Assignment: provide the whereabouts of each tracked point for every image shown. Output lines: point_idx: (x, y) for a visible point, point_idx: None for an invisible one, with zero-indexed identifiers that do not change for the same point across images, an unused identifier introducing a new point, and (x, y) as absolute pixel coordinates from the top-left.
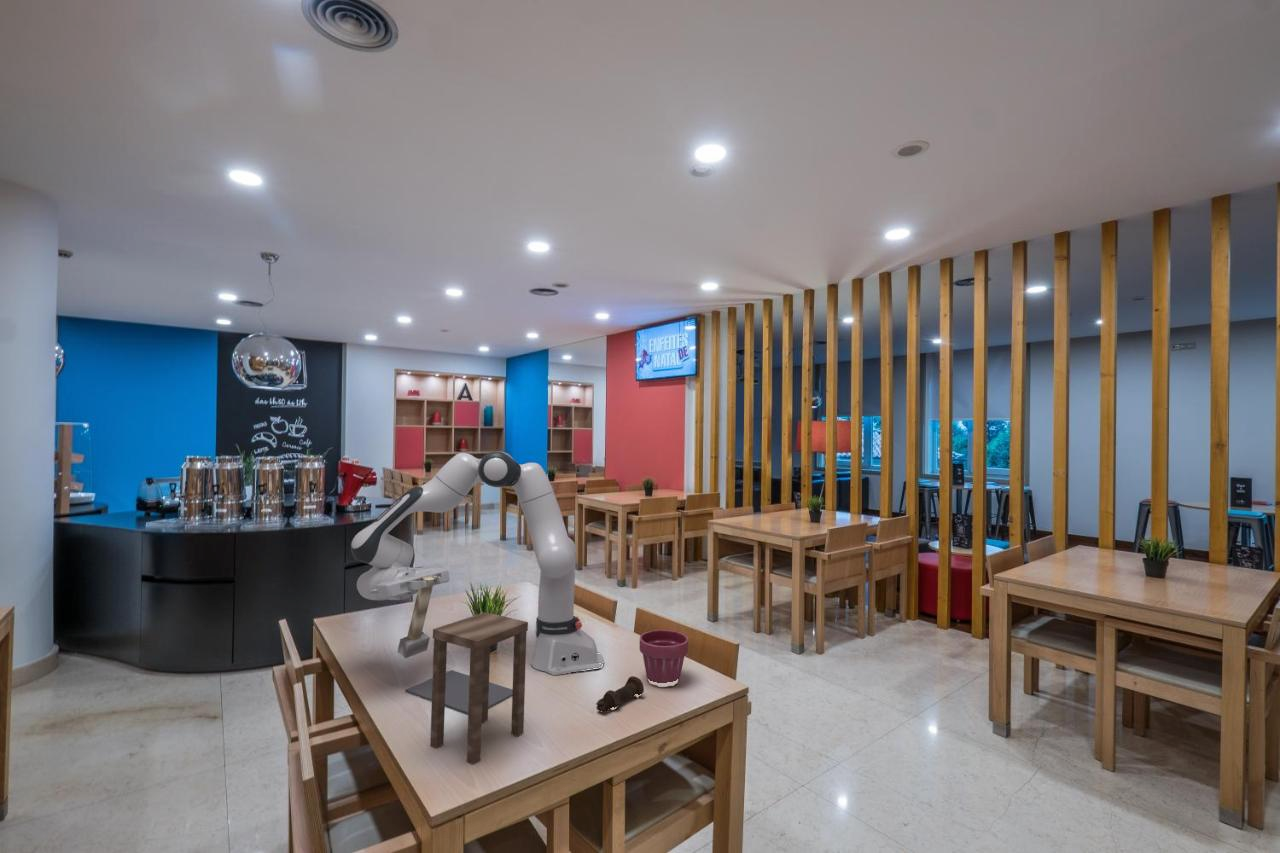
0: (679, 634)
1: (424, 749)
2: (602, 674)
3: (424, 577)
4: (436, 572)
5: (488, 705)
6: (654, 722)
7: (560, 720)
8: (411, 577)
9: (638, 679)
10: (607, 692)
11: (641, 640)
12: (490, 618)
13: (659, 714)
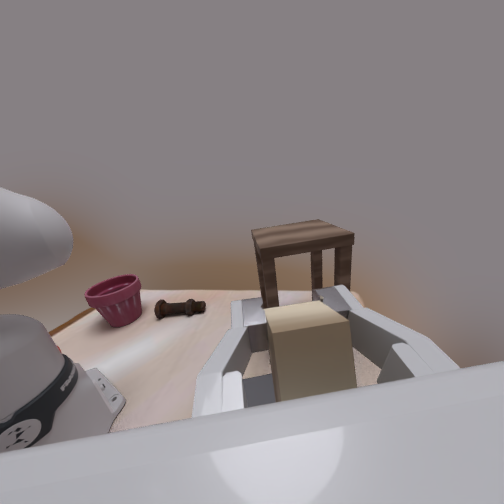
0: (97, 285)
1: (354, 349)
2: (113, 359)
3: (323, 317)
4: (115, 435)
5: (254, 379)
6: (199, 290)
7: (230, 319)
8: (491, 490)
9: (161, 300)
10: (190, 302)
11: (123, 289)
12: (272, 238)
13: (187, 294)
